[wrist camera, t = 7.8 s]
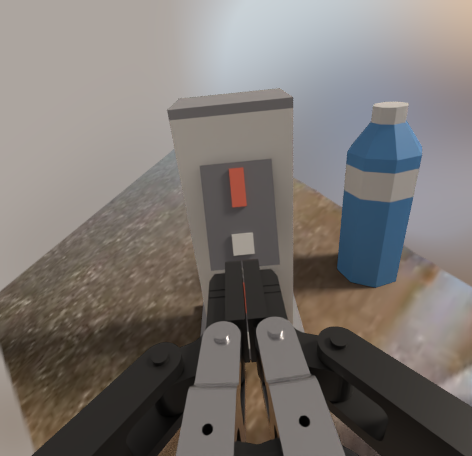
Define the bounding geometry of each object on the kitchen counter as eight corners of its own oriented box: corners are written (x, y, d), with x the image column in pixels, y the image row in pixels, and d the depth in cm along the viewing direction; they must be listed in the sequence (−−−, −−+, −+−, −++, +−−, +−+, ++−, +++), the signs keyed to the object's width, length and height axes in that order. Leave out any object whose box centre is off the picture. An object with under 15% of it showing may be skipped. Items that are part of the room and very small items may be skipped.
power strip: (205, 305, 46) (166, 98, 32) (292, 297, 46) (291, 85, 32) (200, 363, 38) (144, 115, 23) (307, 354, 37) (316, 97, 23)
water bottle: (409, 267, 49) (448, 100, 37) (379, 296, 44) (413, 114, 32) (356, 246, 56) (374, 97, 44) (324, 269, 51) (335, 109, 39)
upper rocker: (212, 267, 28) (201, 166, 27) (278, 261, 28) (270, 159, 27) (210, 271, 27) (199, 165, 26) (280, 265, 26) (271, 158, 25)
